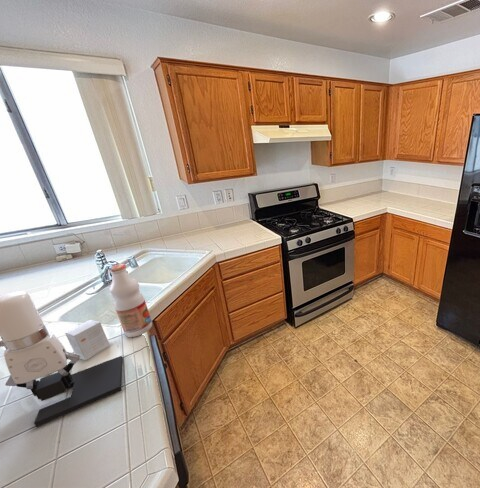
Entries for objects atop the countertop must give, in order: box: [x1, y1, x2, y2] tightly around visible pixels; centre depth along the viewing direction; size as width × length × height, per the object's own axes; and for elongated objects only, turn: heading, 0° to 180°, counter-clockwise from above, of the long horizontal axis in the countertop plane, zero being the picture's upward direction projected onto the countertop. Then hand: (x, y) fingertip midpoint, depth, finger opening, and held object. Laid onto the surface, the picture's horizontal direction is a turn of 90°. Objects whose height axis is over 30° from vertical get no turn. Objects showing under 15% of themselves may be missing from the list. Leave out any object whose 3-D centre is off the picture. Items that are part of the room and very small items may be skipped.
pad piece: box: [35, 371, 68, 402], centre depth 74 cm, size 5×5×4 cm
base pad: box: [33, 355, 124, 428], centre depth 79 cm, size 18×16×2 cm
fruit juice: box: [108, 263, 153, 338], centre depth 100 cm, size 9×9×28 cm
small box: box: [64, 319, 111, 361], centre depth 93 cm, size 8×6×10 cm
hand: (55, 389), depth 75 cm, fingers closed on pad piece, 5 cm apart
